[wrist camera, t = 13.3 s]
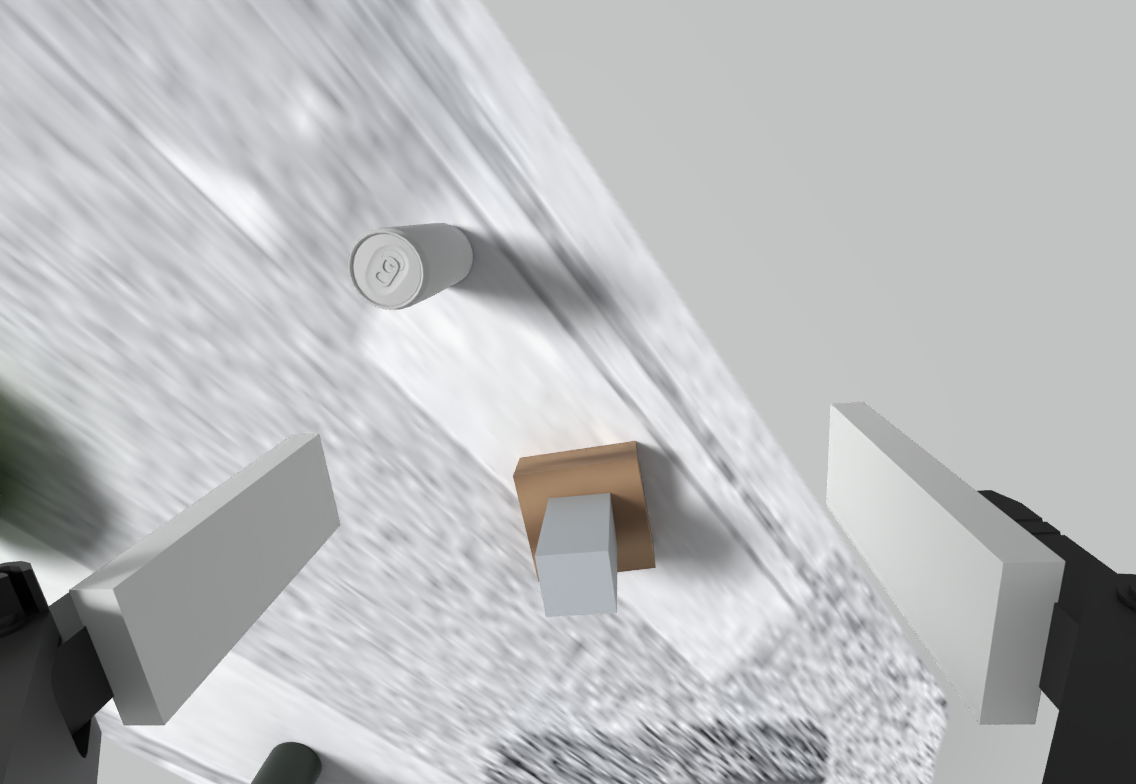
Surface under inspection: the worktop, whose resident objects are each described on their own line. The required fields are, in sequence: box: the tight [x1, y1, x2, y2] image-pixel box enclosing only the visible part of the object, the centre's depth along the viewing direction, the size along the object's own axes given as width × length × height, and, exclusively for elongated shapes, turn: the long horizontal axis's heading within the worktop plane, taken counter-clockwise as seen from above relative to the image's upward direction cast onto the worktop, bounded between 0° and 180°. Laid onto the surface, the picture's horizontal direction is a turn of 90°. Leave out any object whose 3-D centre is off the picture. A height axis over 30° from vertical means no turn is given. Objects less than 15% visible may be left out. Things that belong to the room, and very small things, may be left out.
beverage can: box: [348, 223, 473, 309], centre depth 39 cm, size 5×5×12 cm
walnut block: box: [513, 441, 656, 581], centre depth 49 cm, size 10×10×4 cm
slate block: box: [535, 493, 617, 617], centre depth 43 cm, size 5×5×8 cm
